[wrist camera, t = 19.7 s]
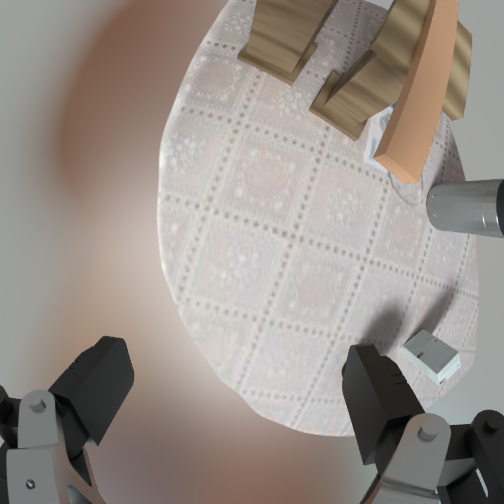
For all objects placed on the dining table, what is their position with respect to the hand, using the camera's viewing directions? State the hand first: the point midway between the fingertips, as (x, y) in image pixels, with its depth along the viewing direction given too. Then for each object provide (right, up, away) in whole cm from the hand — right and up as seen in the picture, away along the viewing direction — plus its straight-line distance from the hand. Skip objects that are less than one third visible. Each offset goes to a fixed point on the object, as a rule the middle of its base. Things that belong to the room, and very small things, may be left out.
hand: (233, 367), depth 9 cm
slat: (+16, +21, +6) cm, 28 cm away
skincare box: (+34, -15, +39) cm, 54 cm away
